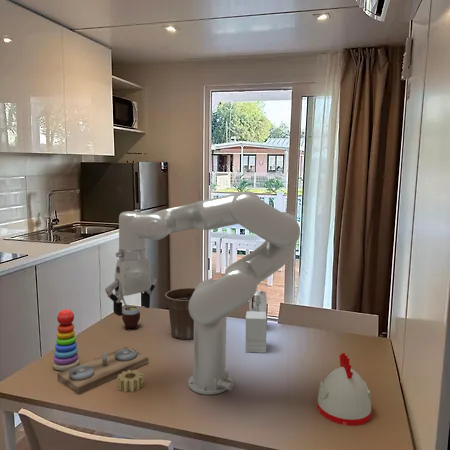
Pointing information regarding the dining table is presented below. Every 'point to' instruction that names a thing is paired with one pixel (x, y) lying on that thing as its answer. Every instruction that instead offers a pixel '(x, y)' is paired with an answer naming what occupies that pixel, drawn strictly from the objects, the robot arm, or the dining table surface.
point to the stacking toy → (65, 342)
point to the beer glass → (258, 302)
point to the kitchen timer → (344, 396)
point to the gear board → (101, 369)
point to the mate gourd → (130, 316)
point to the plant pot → (180, 312)
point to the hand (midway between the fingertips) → (132, 310)
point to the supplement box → (256, 331)
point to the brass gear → (130, 380)
